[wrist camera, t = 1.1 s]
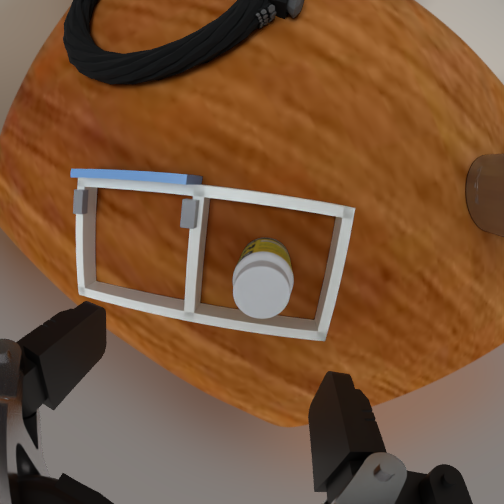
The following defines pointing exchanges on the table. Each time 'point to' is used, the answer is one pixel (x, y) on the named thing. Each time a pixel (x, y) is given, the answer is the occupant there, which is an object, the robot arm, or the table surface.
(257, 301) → the supplement bottle
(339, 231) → the two-slot divided caddy
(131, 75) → the cable lock
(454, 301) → the table surface
